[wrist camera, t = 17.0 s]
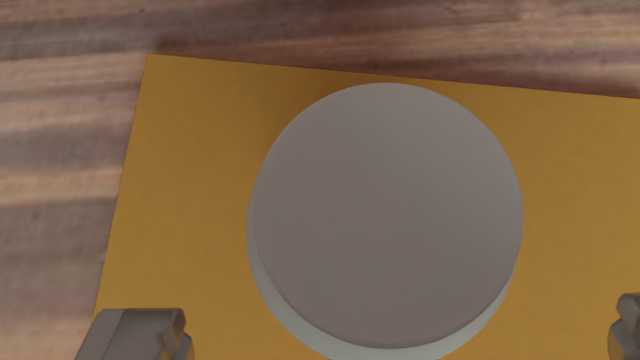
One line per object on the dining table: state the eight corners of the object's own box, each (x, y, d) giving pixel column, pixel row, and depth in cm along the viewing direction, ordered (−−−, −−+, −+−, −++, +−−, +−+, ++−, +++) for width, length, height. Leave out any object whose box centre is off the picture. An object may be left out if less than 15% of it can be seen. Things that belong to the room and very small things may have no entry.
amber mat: (83, 408, 20) (72, 412, 20) (153, 60, 23) (146, 52, 22) (641, 496, 19) (653, 504, 18) (645, 106, 21) (655, 99, 21)
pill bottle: (309, 155, 21) (257, 9, 10) (470, 189, 20) (597, 69, 10) (270, 318, 20) (166, 345, 9) (440, 359, 19) (545, 441, 8)
